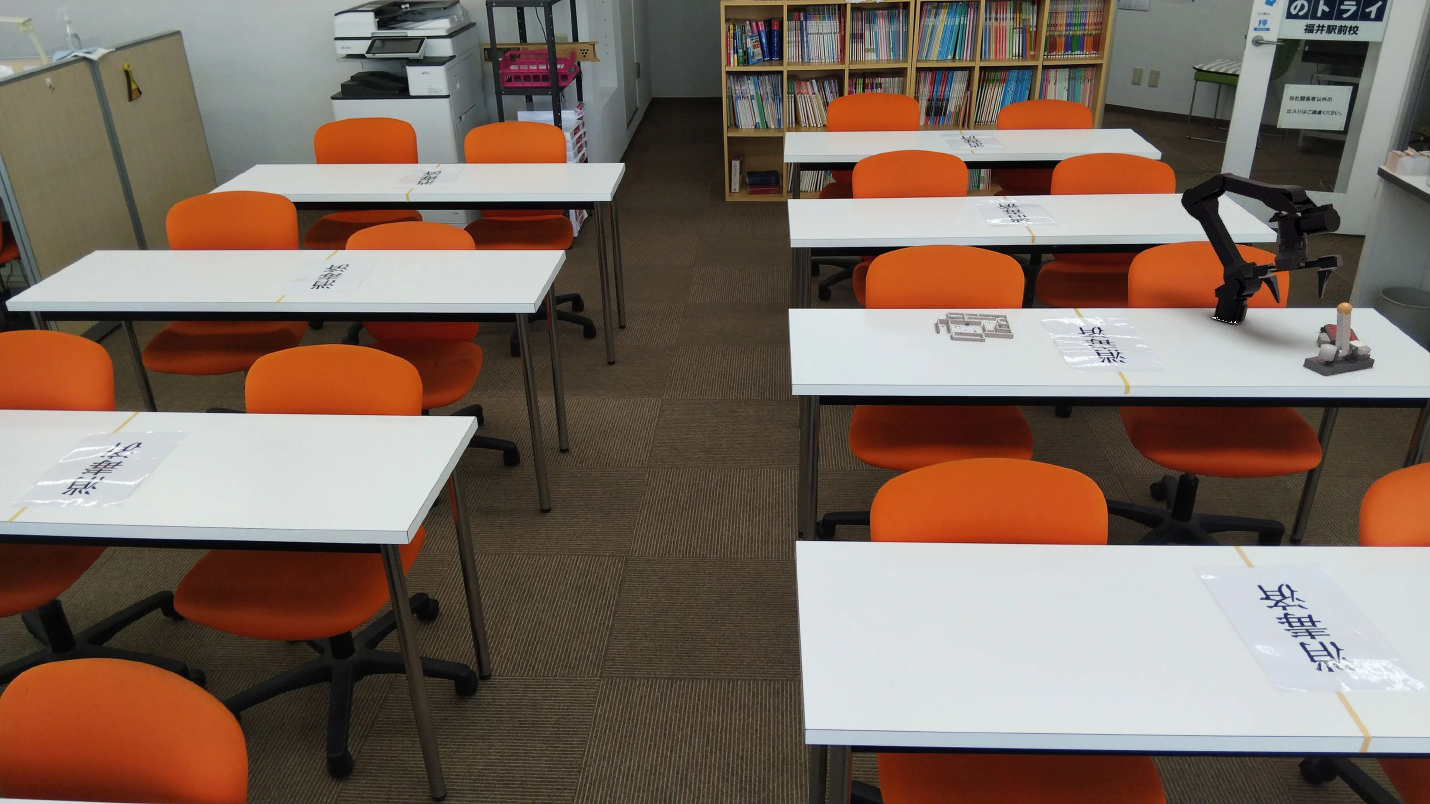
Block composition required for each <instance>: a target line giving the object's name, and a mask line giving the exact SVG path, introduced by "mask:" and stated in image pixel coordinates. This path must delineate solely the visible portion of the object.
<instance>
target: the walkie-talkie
mask: <svg viewBox="0 0 1430 804" xmlns="http://www.w3.org/2000/svg"><path fill="white" fill-rule="evenodd" d="M1336 327H1337V324H1332V323H1327V324H1325V325H1323V326H1321V327H1320V328H1319V331H1320V332H1321V333H1322V334H1321V333H1319V334H1318V336H1317V339H1316V342H1317V346H1318V348H1321V345H1322V344H1331V345H1334V346H1336ZM1356 340H1358V341H1360V340H1359V338H1358V336H1357V334H1356V332H1355V330H1354V329H1353V328H1351V327H1350V341H1356Z"/></svg>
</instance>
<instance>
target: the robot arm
mask: <svg viewBox="0 0 1430 804" xmlns="http://www.w3.org/2000/svg"><path fill="white" fill-rule="evenodd" d="M1226 192H1229V193H1233V194H1236V195H1239V196H1243V197H1247V198H1251V199H1253V200H1258V201H1259V202H1262V203H1263V204H1264V206H1265V207H1267V208H1270V209H1271V210H1273V211H1275V212H1274V213H1273V215H1272V216H1271V217H1270V218H1269V219H1268V220H1267V221H1268V223H1269V224H1270V223H1277V231H1278V239H1279V240H1278V241H1279V244H1278V252H1277V254H1276V255H1275V257H1274V258H1273V260H1274V262H1271V263H1266V264H1265V263H1264V264H1257V263H1256V262H1255V261H1251V262H1247V261H1246V260H1245V259H1244V258H1243V257H1242V256H1243V255H1241V253H1240V251H1239V249H1238V247H1237V245H1236V244H1235V242H1234V240H1233V238H1232V236H1231V234H1230V232H1229V230H1228V228H1227V226H1226V225H1225V222H1224V221H1223V219H1222V217H1221V215H1220V213H1219V209H1220V201H1219V198H1220V197H1221V196H1223V195H1224V194H1225V193H1226ZM1180 203H1181V206H1182V207H1183V209H1184V210H1185V212H1186V213H1187V214H1188V215H1189V216H1191V217H1192V218H1194V219H1195V221H1198V223H1199V224H1200V226H1201V228H1202V229H1203V231H1204V233H1205V235H1206V237H1207V239H1208V242H1209V243H1210V245H1211V246H1212V248H1213V251H1214V252H1215V254H1216V256H1217V258H1218V260H1219V262H1220V263H1221V265H1222V267H1223V275H1222V280H1223V284H1221V285H1220V286H1218V287H1216V288H1214V297H1215V298H1217V302H1216V307H1215V310H1214V314H1213V315H1214V316H1213V315H1212V316H1211V317H1216V319H1220V320H1224V321H1227V322H1231V321H1232V323H1234V322H1235V321H1236V323H1238V324H1240V323H1241V322H1243V321H1244V320H1245V319H1246V316H1247V313H1248V309H1249V304H1248V300H1249V299H1250V298H1253V297H1254V295H1255V293H1257V292H1259V291H1260V290H1261V288H1262V284H1265V285H1266V286H1267V287H1268V289H1269V291H1270V292H1271V295H1272V296H1273V298H1274V299H1275V302H1276V303H1277V304H1280V303H1281V294H1280V287H1279V280H1278V275H1277V274H1274V273H1282V272H1289V271H1295V270H1296V271H1297V270H1304V269H1313V268H1319V270H1317V271H1316V273H1317V274H1316V275H1317V277H1318V278H1317V279H1318V281H1317V282H1318V283H1317V284H1318V285H1317V286H1318V289H1317V291H1318V299H1319V300H1322V299H1323V297H1324V295H1325V294H1324V293H1325V291H1326V287H1327V284H1328V281H1329V279H1330V277H1331V274H1332V272H1333V271H1336V270H1337V269H1338V267H1341V266H1344V263H1343V257H1342V255H1341V254H1329V255H1324V256H1320V257H1317V259H1312V260H1310V254H1309V253H1310V252H1309V249H1308V244H1309V240H1308V239H1307V235H1308V236H1317V235H1323V234H1330V233H1335V232H1337V231H1338V230H1339V229H1340V226H1341V216H1340V215H1339V213H1338V211H1337V209H1335V208H1334V204H1333V203H1332V202H1331V203H1325V204H1321V205H1320V206H1318V205H1317V204H1316V203H1315V202H1314V201H1313V199H1311V198H1310V197H1309V196H1308V195H1307V192H1306V189H1305V188H1304V187H1303V186H1300V185H1291V184H1290V185H1289V184H1271V183H1267V182H1262V181H1259V180H1256V179H1255V180H1254V179H1253V178H1248V177H1244V176H1240V175H1236V174H1234V173H1232V172H1222V173H1217V174H1215V175H1214V176H1212V177H1211V178H1209V179H1207V180H1205V181H1203V182H1202V183H1199V184H1198V185H1196V186H1194V187H1192V188H1187V189H1185V191H1184V192H1183V193H1182V195H1181V199H1180ZM1299 214H1300V215H1299ZM1217 317H1218V318H1217ZM1227 322H1226V323H1227ZM1239 322H1240V323H1239Z"/></svg>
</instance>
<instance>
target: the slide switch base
mask: <svg viewBox="0 0 1430 804" xmlns="http://www.w3.org/2000/svg"><path fill="white" fill-rule="evenodd" d="M1349 348H1350V349H1351V350H1352V355H1351V356H1348V357H1342V358H1338V356H1339V353H1340V350H1339V349H1337V350H1336V353H1335V356H1334V359H1333V361H1325V360H1321V359H1319V358H1318V355H1317V356H1312V357H1311V356H1310V357H1306V358H1304V362H1303V365H1302V366H1303V367H1304V368H1307V369H1308V370H1311V371H1313V372H1315V373H1318V374H1320V375H1322V376H1325V377H1326V376H1327V377H1329V376H1332V375H1337V374H1343V373H1344V374H1345V373H1349V372H1355V371H1360V370H1361V371H1362V370H1366V369H1372V368H1373V367H1374V365H1375V364H1374V363H1375V361H1376V360H1375V359H1374V358H1372V357H1371V354H1370V353H1368V354H1362V355H1360V354H1358V353H1357V350H1358V347H1357V346H1354V345H1352V344H1349Z"/></svg>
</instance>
